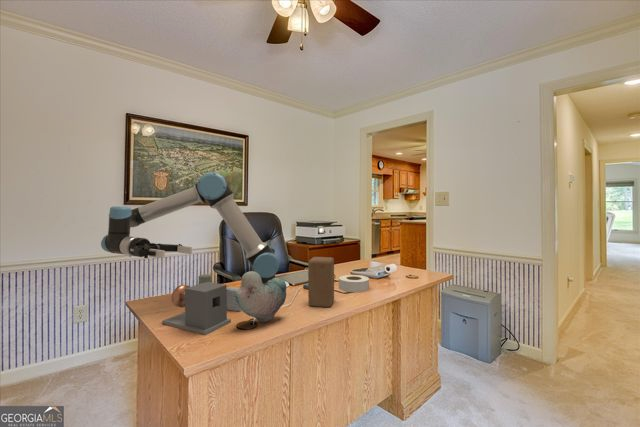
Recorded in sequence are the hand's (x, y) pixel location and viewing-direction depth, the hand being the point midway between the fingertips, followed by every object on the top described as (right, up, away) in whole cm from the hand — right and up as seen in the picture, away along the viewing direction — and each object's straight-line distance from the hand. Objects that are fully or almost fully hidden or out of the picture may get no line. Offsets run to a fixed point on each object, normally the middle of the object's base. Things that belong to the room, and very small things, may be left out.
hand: (178, 252), depth 113 cm
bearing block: (+8, -26, -3) cm, 27 cm away
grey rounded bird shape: (+33, -26, -3) cm, 42 cm away
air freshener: (-1, -25, +30) cm, 39 cm away
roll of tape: (+72, -25, +43) cm, 87 cm away
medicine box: (+18, -26, +12) cm, 34 cm away
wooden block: (+55, -25, +18) cm, 63 cm away
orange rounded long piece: (+7, -21, -3) cm, 22 cm away
